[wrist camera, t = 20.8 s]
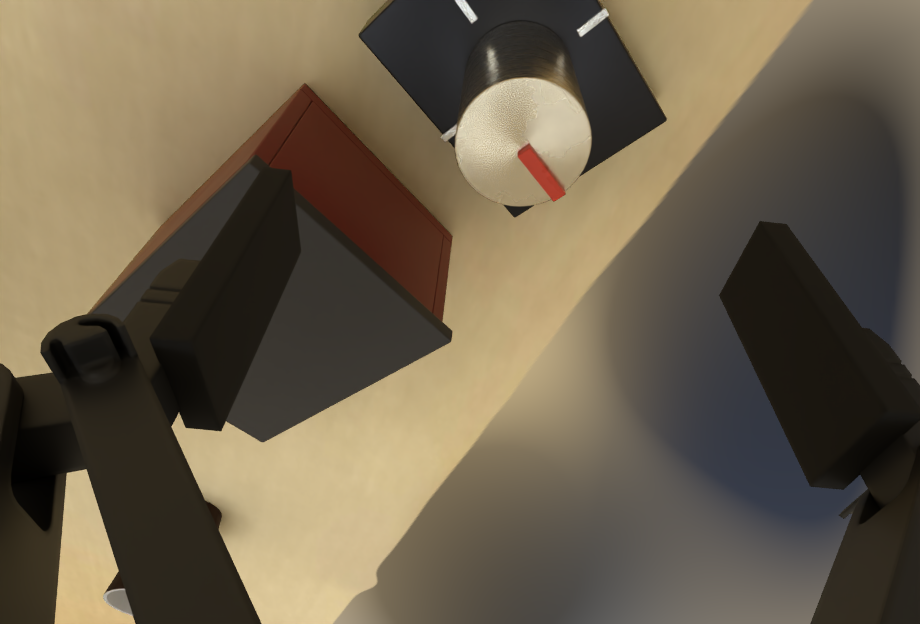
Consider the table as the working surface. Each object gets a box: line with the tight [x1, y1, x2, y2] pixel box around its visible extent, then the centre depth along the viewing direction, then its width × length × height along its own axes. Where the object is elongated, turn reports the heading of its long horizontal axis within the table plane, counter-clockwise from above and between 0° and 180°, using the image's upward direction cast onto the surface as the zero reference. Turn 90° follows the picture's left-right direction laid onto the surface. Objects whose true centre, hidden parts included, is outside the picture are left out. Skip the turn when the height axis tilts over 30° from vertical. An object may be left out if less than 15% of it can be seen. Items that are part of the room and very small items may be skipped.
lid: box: [89, 154, 452, 442], centre depth 27 cm, size 15×12×1 cm
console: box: [359, 0, 667, 217], centre depth 26 cm, size 12×9×3 cm
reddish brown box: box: [87, 84, 452, 321], centre depth 31 cm, size 15×12×9 cm
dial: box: [455, 21, 592, 207], centre depth 22 cm, size 5×5×7 cm
